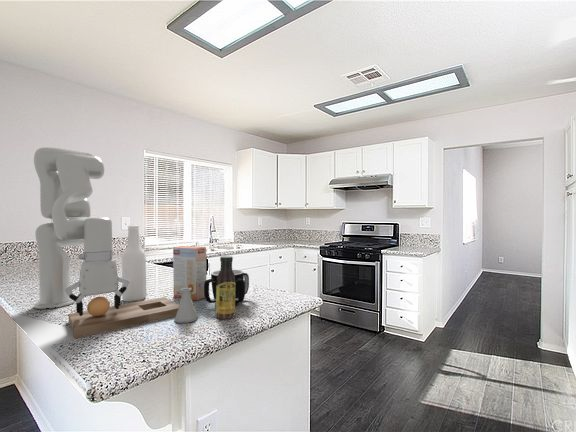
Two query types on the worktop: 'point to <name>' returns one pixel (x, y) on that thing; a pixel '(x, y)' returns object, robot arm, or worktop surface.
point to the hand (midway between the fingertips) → (99, 311)
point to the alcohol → (134, 267)
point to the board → (122, 316)
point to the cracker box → (189, 270)
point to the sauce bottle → (225, 289)
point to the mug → (240, 286)
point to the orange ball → (98, 306)
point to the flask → (186, 308)
